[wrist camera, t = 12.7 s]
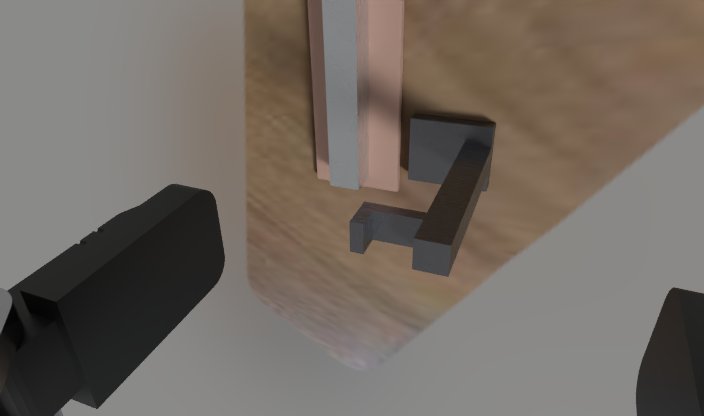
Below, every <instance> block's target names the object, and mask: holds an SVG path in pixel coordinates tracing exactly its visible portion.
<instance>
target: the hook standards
mask: <svg viewBox="0 0 704 416" xmlns="http://www.w3.org/2000/svg"><path fill="white" fill-rule="evenodd" d="M495 128H496V123H489V122H480V121H472V120H463V119H455V118H446V117H438V116H429V115H421V114H414V115H413V116H412V117H411V118H410V143H409V169H408V179H410V180H416V181H423V182H429V183H435V184H441V185H442V186H441V188H440V189H439V191H438V193H437V195H436V197H435V199H434V201H433V203H432V205H431V206H430V208H429V210H428V212H427V213H425V212H420V211H414V210H408V209H403V208H397V207H391V206H386V205H380V204H375V203H369V202H364V203H363V204H362V206H361V207H360V208H359V210H358V211H357V212H356V214H355V215H354V216H353V218H352V219H351V220H350V251H351V252H356V253H360V254H364V252H365V251H366V249H367V248H368V246H369V244H370V243H371V241H372V240H378V241H383V242H388V243H393V244H398V245H403V246H408V247H413V261H412V269H414V270H419V271H424V272H428V273H433V274H438V275H442V276H447V277H448V276H449V274H450V271H451V269H452V266H453V263H454V261H455V258H456V256H457V253H458V250H459V248H460V245H461V243H462V240H463V238H464V235H465V232H466V230H467V227H468V225H469V222H470V219H471V217H472V214H473V212H474V209H475V207H476V204H477V201H478V199H479V196H480V194H481V191H485V192H486V190H487V188H488V184H489V176H490V168H491V160H492V152H493V144H494V136H495Z"/></svg>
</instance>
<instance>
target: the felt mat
mask: <svg viewBox="0 0 704 416" xmlns="http://www.w3.org/2000/svg"><path fill="white" fill-rule="evenodd" d="M404 3H405V0H369V178H368V179H367V180H366V181H365V183H364V184H363V185H362V186H366V187H372V188H378V189H383V190H389V191H395V192H397V191H398V189H399V175H400V141H401V106H402V72H403V38H404ZM308 16H309V34H310V51H311V69H312V86H313V104H314V122H315V139H316V157H317V174H318V179H324V180H330V169H329V147H328V125H327V103H326V81H325V59H324V38H323V16H322V0H308Z"/></svg>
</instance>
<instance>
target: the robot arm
mask: <svg viewBox="0 0 704 416" xmlns="http://www.w3.org/2000/svg"><path fill="white" fill-rule="evenodd" d="M224 262H225V255H224V248H223V242H222V236H221V230H220V223H219V217H218V211H217V205H216V200H215V198H214V196H213V194H212V193H211V192H210V191H207V190H203V189H198V188H192V187H188V186H183V185H178V184H171V185H169V186H167V187H165V188H164V189H163V190H161V191H160V192H158V193H157V194H156V195H154V196H153V197H151V198H150V199H148V200H147V201H146V202H144V203H143V204H141V205H140V206H137V207H135V208H132V209H130V210H127V211H125V212H122V213H120V214H118V215H116V216H115V217H114V218H112V219H111V220H109V221H108V222H106V223H105V224H103V225H102V226H101V227H99V228H98V231H97V232H94V231H93V232H92V233H90V234H89V235H88V236H86V237H85V238H83V239H82V240H81V241H80V244H75V245H73V246H72V247H70V248H69V249H67V250H66V251H64V252H63V253H61V254H60V255H59V256H57V257H56V258H54V259H53V260H52V261H50V262H49V263H47V264H46V265H44V266H43V267H41V268H40V269H38V270H37V271H35V272H34V273H33V274H31V275H30V276H28V277H27V278H25V279H24V280H22V281H21V282H19V283H18V284H17V285H15V286H14V287H12V288H11V289H9V290H8V291H6V290H4V289H2V288H0V416H63V414H62V411H61V408H62V407H63V406H64V405H65V404H66V403H67V402H68V401H69V400H70V399H73V400H75V401H78V402H80V403H83V404H86V405H88V406H91V407H93V408H96V409H98V408H99V407H100V406H101V405H102V404H103V403H104V402H105V400H106V399H107V398H108V397H109V396H110V395H111V394H112V393H113V392H114V391H115V390H116V389H117V388H118V387H119V386H120V385H121V384H122V383H123V382H124V380H126V378H127V377H128V376H129V375H130V374H131V373H132V372H133V371H134V370H135V369H136V368H137V367H138V366H139V365H140V364H141V363H142V362H143V361H144V360H145V358H147V356H148V355H149V354H150V353H151V352H152V351H153V350H154V349H155V348H156V347H157V346H158V345H159V344H160V343H161V342H162V341H163V340H164V339H165V338H166V337H167V335H168V334H169V333H170V332H171V331H172V330H173V329H174V328H175V327H176V326H177V325H178V324H179V323H180V322H181V321H182V320H183V319H184V318H185V317H186V316H187V314H189V312H190V311H191V310H192V309H193V308H194V307H195V306H196V305H197V304H198V303H199V302H200V301H201V300H202V299H203V298H204V297H205V296H206V295H207V294H208V292H209V291H210V290H211V289H212V288H213V287H214V286H215V285H216V284H217V282H218V281H219V279H220V277H221V274H222V272H223V268H224ZM636 407H637V416H704V294H703V293H698V292H693V291H688V290H684V289H679V288H672V289H671V290H670V291H669V293H668V294H667V296H666V299H665V301H664V304H663V307H662V309H661V312H660V314H659V317H658V320H657V323H656V325H655V328H654V330H653V333H652V336H651V338H650V341H649V343H648V346H647V349H646V351H645V354H644V356H643V359H642V363H641V366H640V370H639V374H638V380H637V388H636Z"/></svg>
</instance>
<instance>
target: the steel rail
mask: <svg viewBox="0 0 704 416" xmlns="http://www.w3.org/2000/svg"><path fill="white" fill-rule="evenodd" d="M322 16H323V38H324V59H325V81H326V103H327V125H328V147H329V169H330V185H332V186H338V187H344V188H350V189H355V190H359V189H360V188H361V186H362V185H363V184H364V183H365V181H366V180H367V179H368V178H369V0H322Z"/></svg>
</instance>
